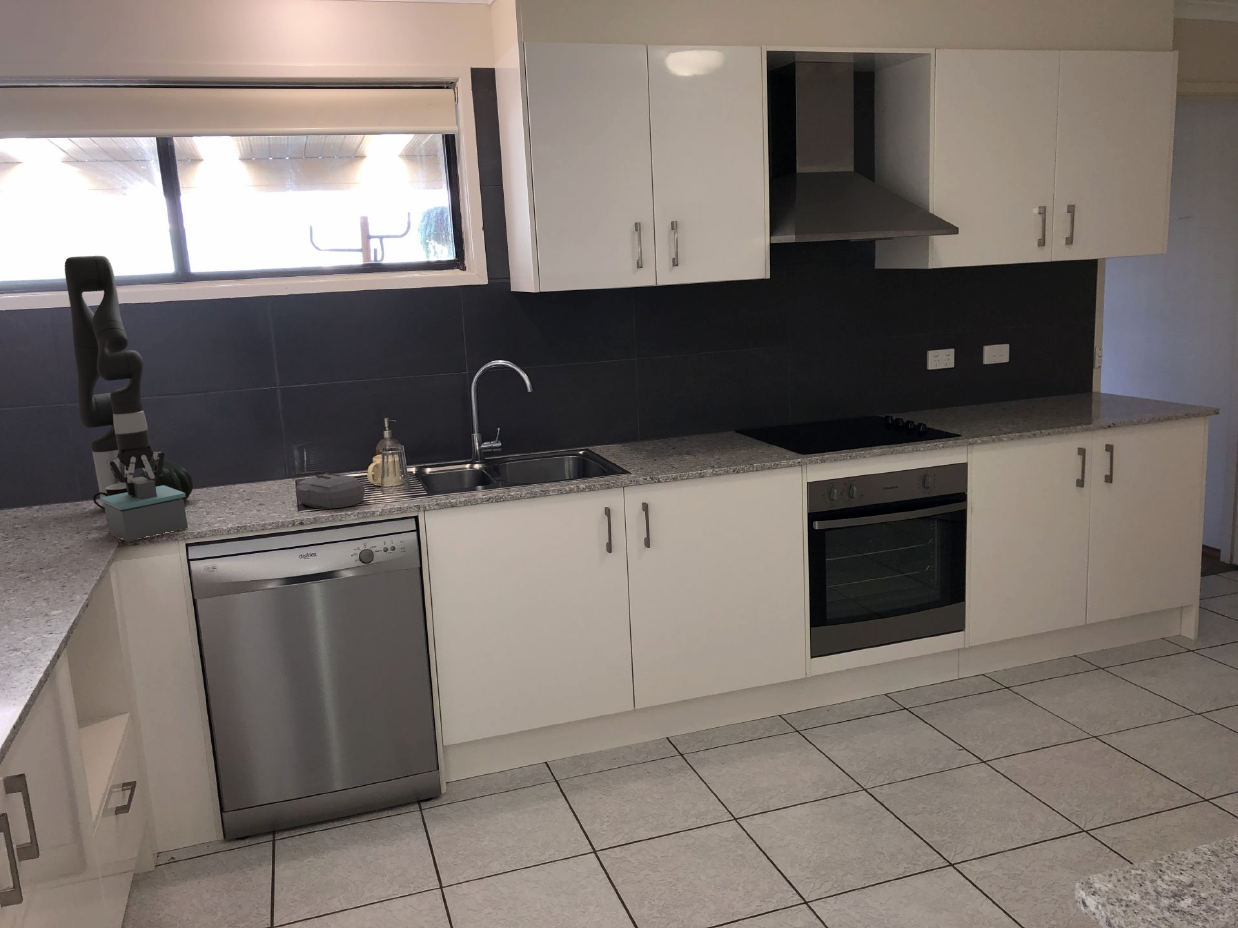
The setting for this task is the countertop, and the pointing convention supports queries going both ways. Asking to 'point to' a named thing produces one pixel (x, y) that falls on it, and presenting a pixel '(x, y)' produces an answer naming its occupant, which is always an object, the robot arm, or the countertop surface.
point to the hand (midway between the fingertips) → (142, 494)
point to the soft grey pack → (330, 491)
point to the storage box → (146, 520)
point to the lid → (142, 495)
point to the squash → (172, 477)
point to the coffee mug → (112, 492)
